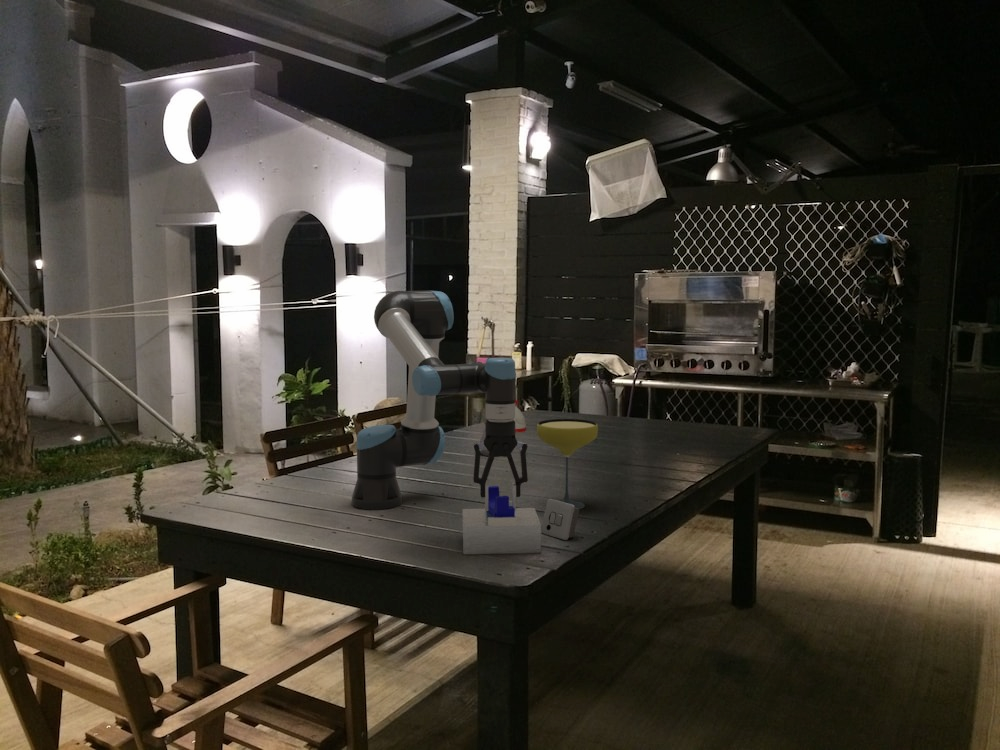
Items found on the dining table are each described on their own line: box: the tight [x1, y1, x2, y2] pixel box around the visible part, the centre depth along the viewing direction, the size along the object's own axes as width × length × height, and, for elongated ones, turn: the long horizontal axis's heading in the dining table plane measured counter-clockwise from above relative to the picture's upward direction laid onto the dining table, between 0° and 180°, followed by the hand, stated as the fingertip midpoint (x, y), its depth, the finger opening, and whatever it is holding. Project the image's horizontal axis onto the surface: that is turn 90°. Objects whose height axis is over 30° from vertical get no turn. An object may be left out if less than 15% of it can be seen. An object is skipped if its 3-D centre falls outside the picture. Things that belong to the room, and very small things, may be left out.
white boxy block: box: [462, 500, 542, 555], centre depth 206 cm, size 19×16×9 cm
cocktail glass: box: [536, 418, 599, 510], centre depth 242 cm, size 18×18×25 cm
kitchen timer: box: [513, 397, 527, 434], centre depth 376 cm, size 14×14×15 cm
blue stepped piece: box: [488, 485, 515, 517], centre depth 206 cm, size 12×4×6 cm, turn 13°
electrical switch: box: [541, 498, 580, 541], centre depth 214 cm, size 9×5×9 cm, turn 42°
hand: (500, 509), depth 206 cm, fingers open, 6 cm apart
